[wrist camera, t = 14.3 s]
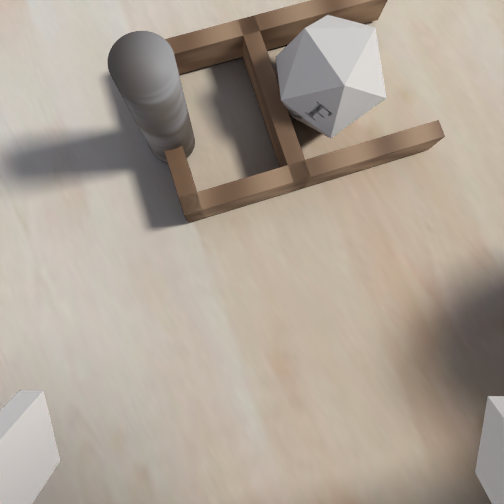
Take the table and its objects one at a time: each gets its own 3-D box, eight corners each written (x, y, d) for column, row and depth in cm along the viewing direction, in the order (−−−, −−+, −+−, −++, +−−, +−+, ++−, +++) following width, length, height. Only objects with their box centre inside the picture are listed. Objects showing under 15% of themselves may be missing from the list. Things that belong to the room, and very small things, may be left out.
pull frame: (372, 5, 39) (433, -127, 27) (427, 149, 37) (518, 76, 25) (127, 72, 37) (76, -39, 25) (174, 227, 35) (143, 187, 23)
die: (252, 84, 38) (260, 103, 30) (313, -7, 35) (342, -16, 26) (321, 136, 41) (346, 167, 32) (382, 56, 38) (430, 67, 29)
